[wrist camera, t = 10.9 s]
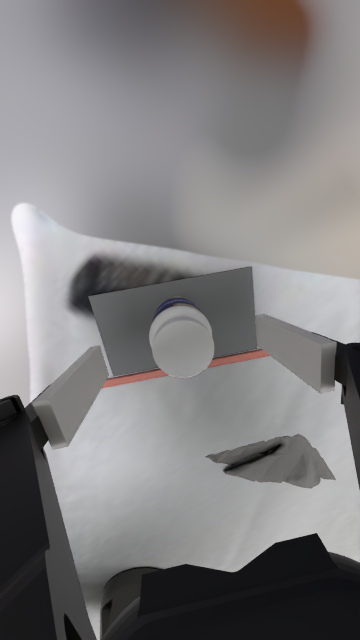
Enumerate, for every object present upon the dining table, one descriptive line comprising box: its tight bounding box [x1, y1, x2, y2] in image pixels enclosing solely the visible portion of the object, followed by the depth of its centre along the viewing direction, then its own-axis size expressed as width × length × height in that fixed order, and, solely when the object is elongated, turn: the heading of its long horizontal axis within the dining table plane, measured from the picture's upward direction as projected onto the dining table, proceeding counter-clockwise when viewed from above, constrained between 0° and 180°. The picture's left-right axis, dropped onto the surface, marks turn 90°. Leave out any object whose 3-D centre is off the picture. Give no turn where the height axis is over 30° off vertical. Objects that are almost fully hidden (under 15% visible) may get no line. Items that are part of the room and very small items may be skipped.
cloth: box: [206, 434, 336, 488], centre depth 31 cm, size 26×14×2 cm, turn 61°
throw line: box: [102, 349, 270, 388], centre depth 25 cm, size 26×1×1 cm, turn 100°
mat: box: [88, 267, 257, 376], centre depth 23 cm, size 20×11×1 cm, turn 100°
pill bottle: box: [149, 296, 214, 378], centre depth 18 cm, size 6×6×10 cm
